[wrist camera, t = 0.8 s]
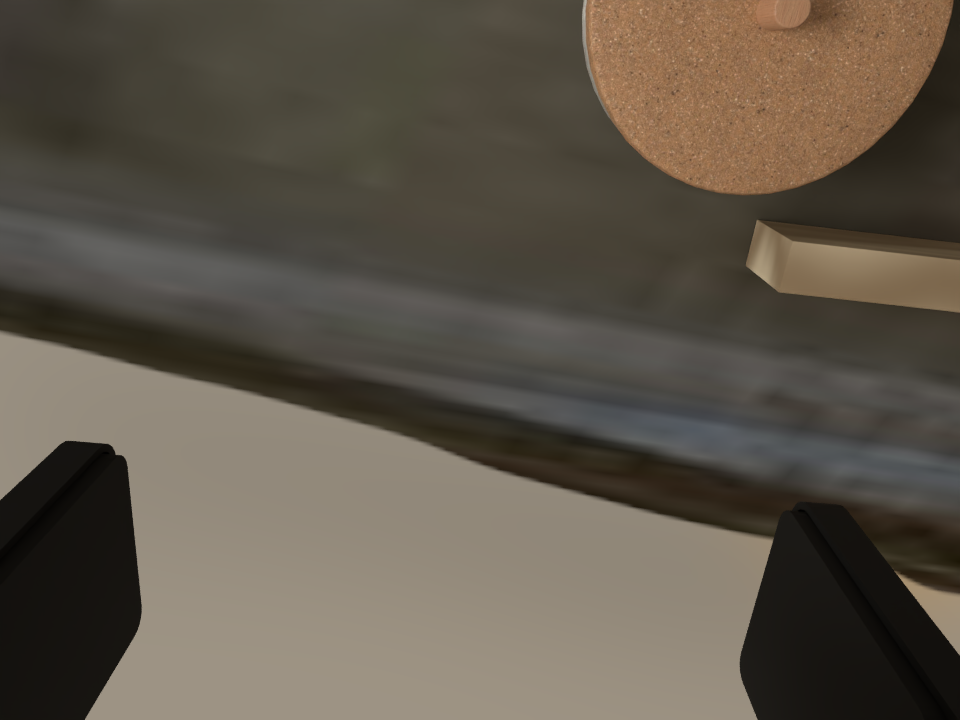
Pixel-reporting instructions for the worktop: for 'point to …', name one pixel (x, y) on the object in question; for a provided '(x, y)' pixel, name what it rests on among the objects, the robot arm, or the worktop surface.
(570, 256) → the worktop surface
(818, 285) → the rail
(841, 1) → the lidded jar
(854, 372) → the worktop surface
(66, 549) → the robot arm
